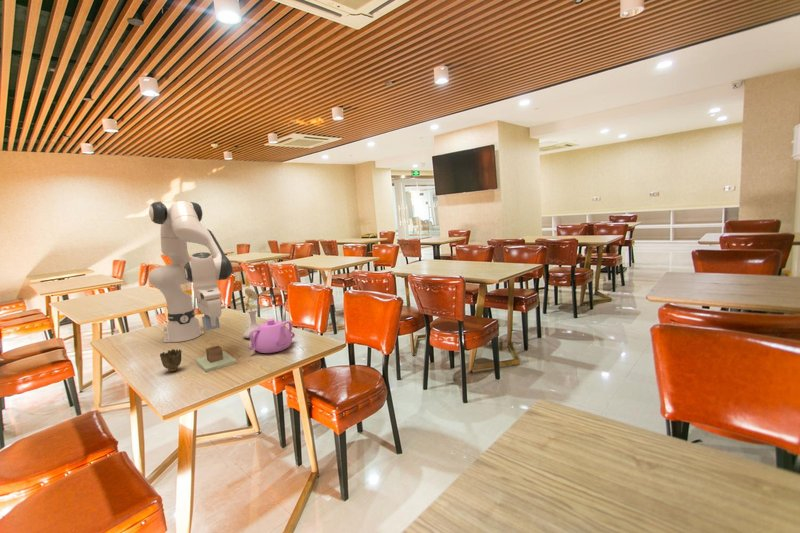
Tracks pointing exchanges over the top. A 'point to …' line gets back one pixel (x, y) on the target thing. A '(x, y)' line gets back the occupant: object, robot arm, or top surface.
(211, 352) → the walnut block
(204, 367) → the base plate
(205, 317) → the slate block
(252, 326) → the flower in vase
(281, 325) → the teapot
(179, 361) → the dark brown round piece
